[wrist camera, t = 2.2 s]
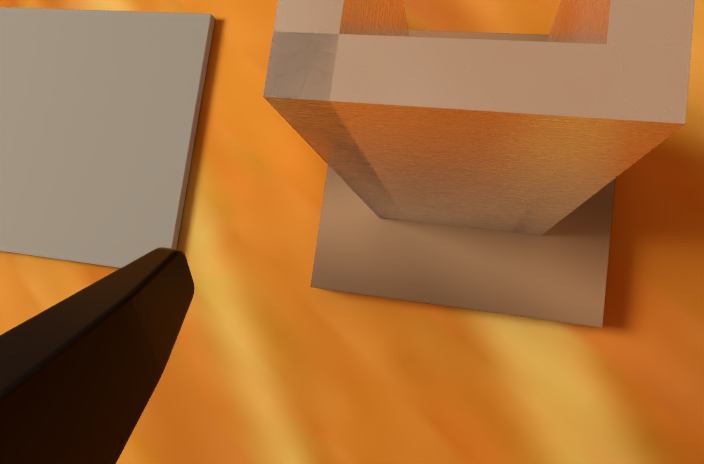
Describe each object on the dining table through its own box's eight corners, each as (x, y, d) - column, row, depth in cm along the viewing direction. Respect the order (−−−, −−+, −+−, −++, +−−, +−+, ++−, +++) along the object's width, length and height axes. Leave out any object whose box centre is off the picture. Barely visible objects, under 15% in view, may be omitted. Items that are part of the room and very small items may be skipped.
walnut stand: (594, 325, 19) (642, 335, 14) (317, 287, 21) (274, 284, 16) (619, 50, 20) (672, -32, 15) (352, 40, 22) (321, -36, 17)
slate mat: (172, 275, 22) (167, 274, 22) (-50, 243, 24) (-58, 242, 24) (215, 18, 23) (210, 13, 23) (-1, 11, 25) (-9, 6, 25)
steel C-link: (540, 235, 18) (685, 123, 7) (379, 218, 20) (263, 96, 8) (553, 111, 19) (709, -197, 7) (394, 101, 20) (306, -179, 8)
